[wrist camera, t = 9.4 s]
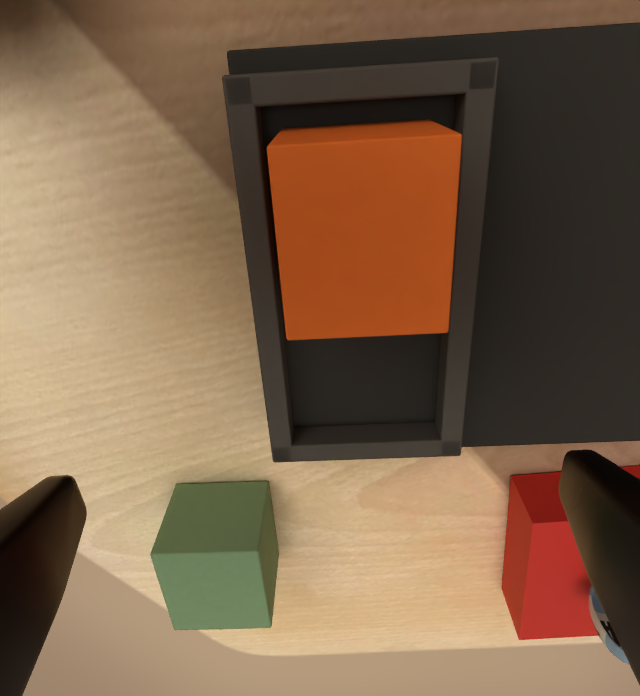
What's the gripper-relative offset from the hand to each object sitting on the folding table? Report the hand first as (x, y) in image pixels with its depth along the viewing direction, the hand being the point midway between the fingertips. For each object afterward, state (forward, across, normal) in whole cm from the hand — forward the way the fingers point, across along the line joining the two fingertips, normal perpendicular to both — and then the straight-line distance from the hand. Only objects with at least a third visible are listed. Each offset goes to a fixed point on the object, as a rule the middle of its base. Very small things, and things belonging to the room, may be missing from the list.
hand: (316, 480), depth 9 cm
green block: (+11, +5, +12) cm, 17 cm away
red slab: (+11, -12, +14) cm, 21 cm away
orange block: (+9, -1, -3) cm, 10 cm away
